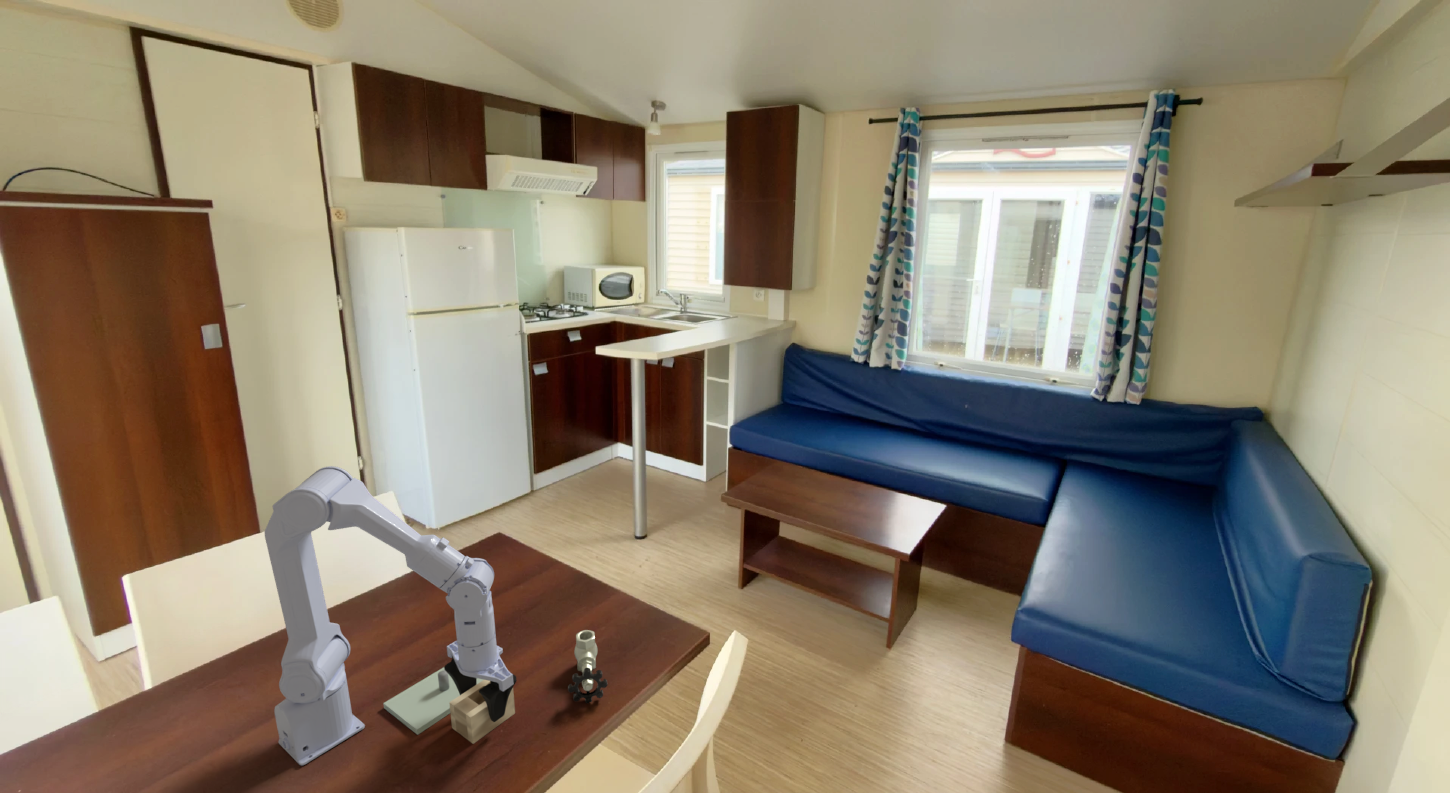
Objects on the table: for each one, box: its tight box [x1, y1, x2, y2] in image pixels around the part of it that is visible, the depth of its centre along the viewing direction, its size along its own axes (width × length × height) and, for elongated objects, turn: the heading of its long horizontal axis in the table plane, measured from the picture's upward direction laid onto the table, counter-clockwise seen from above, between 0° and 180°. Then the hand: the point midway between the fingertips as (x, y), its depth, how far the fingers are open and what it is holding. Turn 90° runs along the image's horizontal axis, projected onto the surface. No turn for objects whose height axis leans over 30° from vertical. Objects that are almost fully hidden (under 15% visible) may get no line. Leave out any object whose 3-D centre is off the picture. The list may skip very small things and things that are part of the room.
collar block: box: [449, 680, 516, 745], centre depth 103 cm, size 8×6×5 cm
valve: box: [567, 629, 608, 704], centre depth 113 cm, size 7×7×12 cm
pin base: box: [383, 666, 484, 736], centre depth 109 cm, size 16×10×4 cm, turn 146°
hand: (483, 707), depth 103 cm, fingers open, 7 cm apart
